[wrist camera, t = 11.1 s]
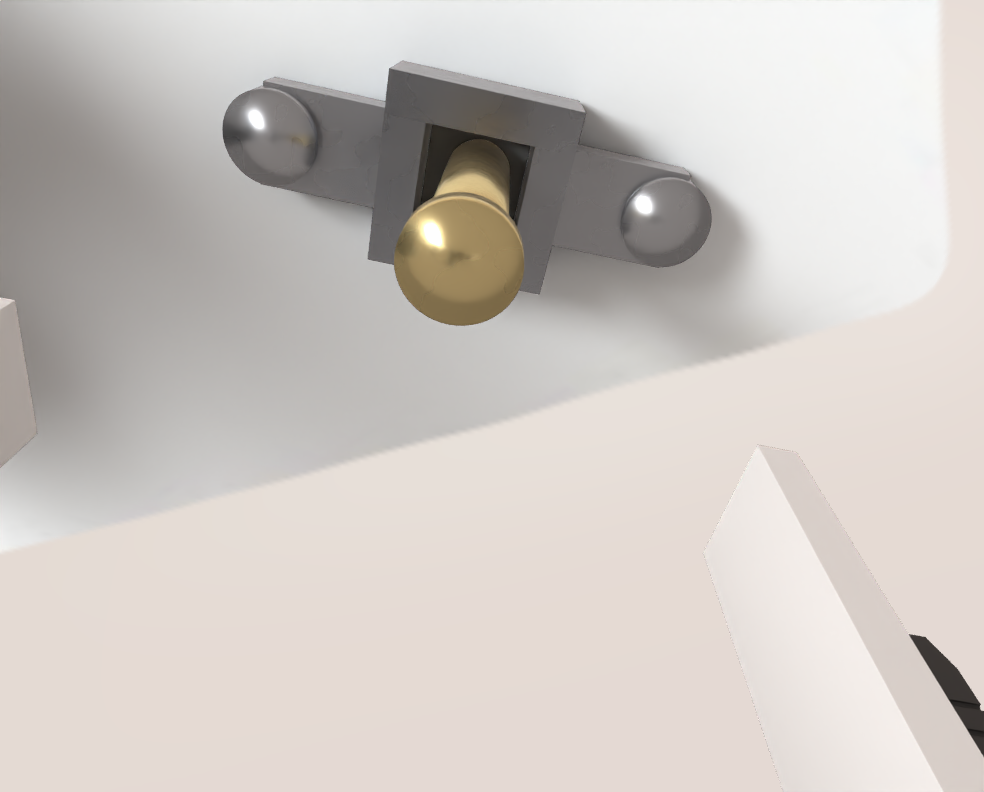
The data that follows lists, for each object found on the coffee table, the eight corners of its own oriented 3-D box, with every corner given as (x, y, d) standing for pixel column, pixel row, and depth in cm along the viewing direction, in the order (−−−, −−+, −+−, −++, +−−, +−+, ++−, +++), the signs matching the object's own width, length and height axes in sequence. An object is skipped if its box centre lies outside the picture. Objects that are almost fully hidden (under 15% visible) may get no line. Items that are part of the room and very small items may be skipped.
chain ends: (239, 206, 33) (211, 227, 30) (241, 23, 29) (209, 27, 26) (669, 295, 35) (684, 324, 32) (728, 134, 31) (751, 150, 28)
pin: (430, 205, 33) (386, 312, 22) (443, 119, 31) (403, 187, 20) (510, 222, 33) (509, 336, 22) (529, 137, 31) (537, 215, 20)
